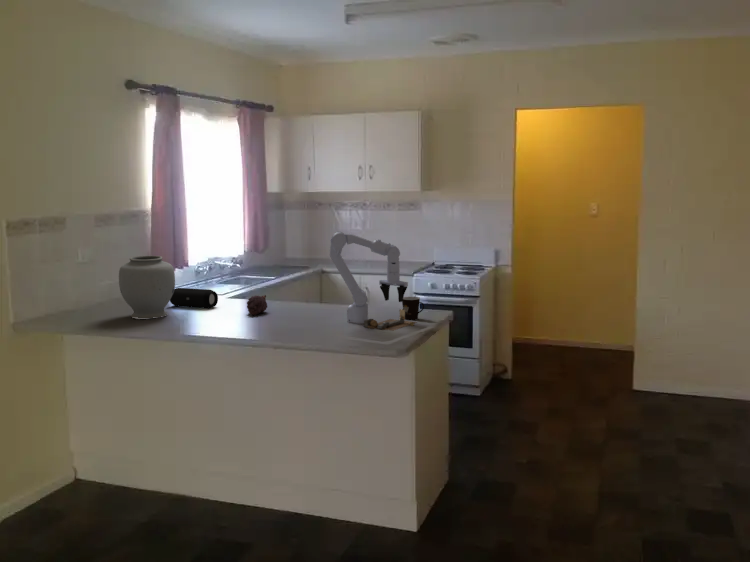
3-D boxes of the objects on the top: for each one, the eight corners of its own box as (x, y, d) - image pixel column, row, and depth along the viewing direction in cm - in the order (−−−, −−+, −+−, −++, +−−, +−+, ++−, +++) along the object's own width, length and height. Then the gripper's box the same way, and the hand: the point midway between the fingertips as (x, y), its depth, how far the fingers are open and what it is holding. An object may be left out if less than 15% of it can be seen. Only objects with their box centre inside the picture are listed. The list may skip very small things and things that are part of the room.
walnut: (368, 327, 331) (368, 320, 331) (373, 326, 334) (372, 319, 333) (374, 328, 329) (374, 321, 329) (378, 326, 332) (378, 319, 331)
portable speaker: (168, 307, 397) (167, 289, 395) (180, 304, 406) (179, 286, 404) (208, 310, 387) (207, 291, 385) (219, 306, 396) (218, 288, 394)
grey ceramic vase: (184, 311, 385) (181, 253, 380) (165, 321, 359) (161, 260, 354) (135, 311, 388) (130, 254, 383) (112, 321, 361) (107, 260, 357)
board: (364, 329, 332) (363, 320, 331) (390, 321, 348) (390, 312, 348) (396, 334, 322) (396, 324, 321) (421, 325, 338) (421, 316, 338)
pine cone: (263, 316, 366) (251, 300, 363) (248, 325, 370) (236, 309, 367) (275, 301, 381) (263, 285, 379) (261, 309, 385) (249, 294, 383)
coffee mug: (399, 318, 356) (398, 297, 354) (415, 316, 359) (415, 296, 357) (408, 322, 345) (408, 301, 343) (425, 321, 348) (425, 299, 346)
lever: (376, 328, 328) (376, 315, 327) (401, 321, 341) (401, 308, 340) (382, 328, 326) (381, 316, 325) (406, 321, 339) (406, 309, 339)
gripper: (411, 271, 340) (411, 300, 342) (385, 269, 348) (385, 298, 350) (402, 273, 334) (403, 303, 336) (376, 271, 343) (377, 300, 345)
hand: (393, 301), depth 343 cm, fingers open, 7 cm apart
